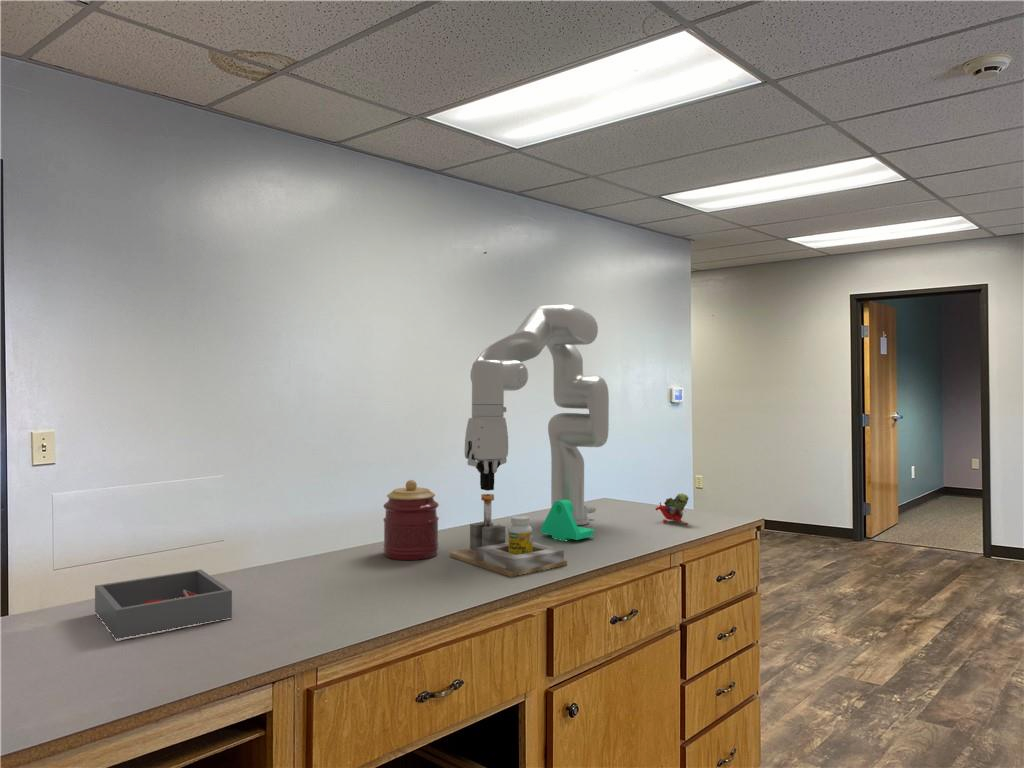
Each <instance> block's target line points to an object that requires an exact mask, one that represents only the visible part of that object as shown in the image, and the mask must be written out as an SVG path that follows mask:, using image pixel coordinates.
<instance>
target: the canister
mask: <svg viewBox="0 0 1024 768" xmlns="http://www.w3.org/2000/svg"><path fill="white" fill-rule="evenodd" d="M435 496H436V494H435V493H434V492H433V491H431V490H430V489H429V488H427V487H420V486H419V487H418V485H417V482H416V481H415V480H413V479H409V480H407V481H406V483H405V487H399V488H395V489H393V490H392V491H391V492H389V493H388V494H387V495H386V497H387V498H388V500H387V502H385V503H384V504H383V508H384V510H385V517H383V524H384V525H383V526H384V527H383V530H384V531H383V538H384V539H383V545H382V546H383V551H384V556H385V557H387V558H389V559H392V560H399V561H415V560H416V561H417V560H425V559H429V558H433V557H435V556H436V555H438V551H439V548H440V547H439V544H440V543H439V519H440V518H439V517H438V515H437V508H439V503H438V502H437V501H435V499H434V498H435Z"/></svg>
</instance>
